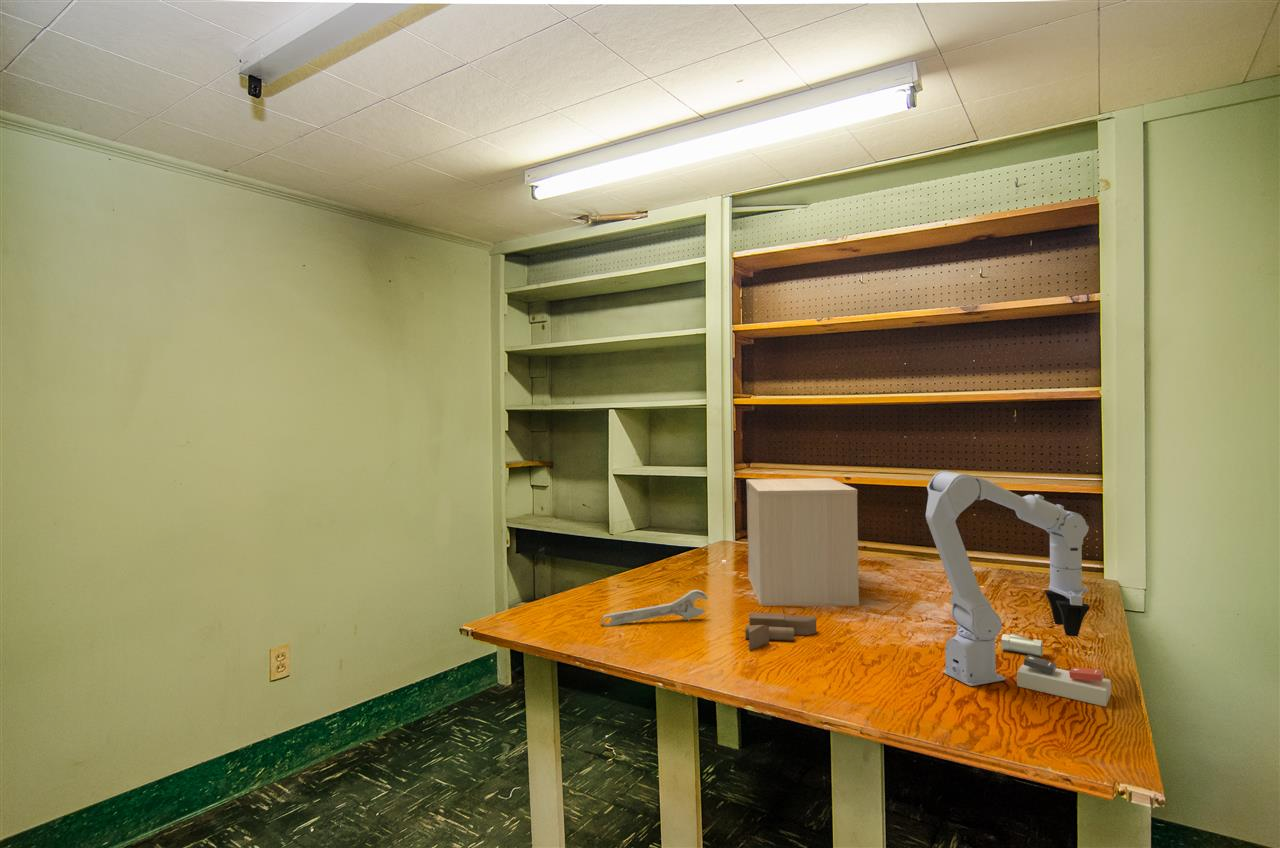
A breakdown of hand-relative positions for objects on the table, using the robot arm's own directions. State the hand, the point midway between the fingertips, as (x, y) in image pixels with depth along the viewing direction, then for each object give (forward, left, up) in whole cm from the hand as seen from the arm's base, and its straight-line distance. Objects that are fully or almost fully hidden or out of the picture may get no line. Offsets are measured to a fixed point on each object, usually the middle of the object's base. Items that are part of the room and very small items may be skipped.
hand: (1066, 629), depth 139 cm
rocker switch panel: (-8, -6, -10) cm, 14 cm away
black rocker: (-10, -2, -5) cm, 12 cm away
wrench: (-70, +66, -10) cm, 97 cm away
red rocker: (-6, -9, -5) cm, 12 cm away
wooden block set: (-45, +41, -10) cm, 62 cm away
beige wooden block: (-16, +80, -10) cm, 82 cm away
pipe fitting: (+3, +14, -10) cm, 17 cm away
